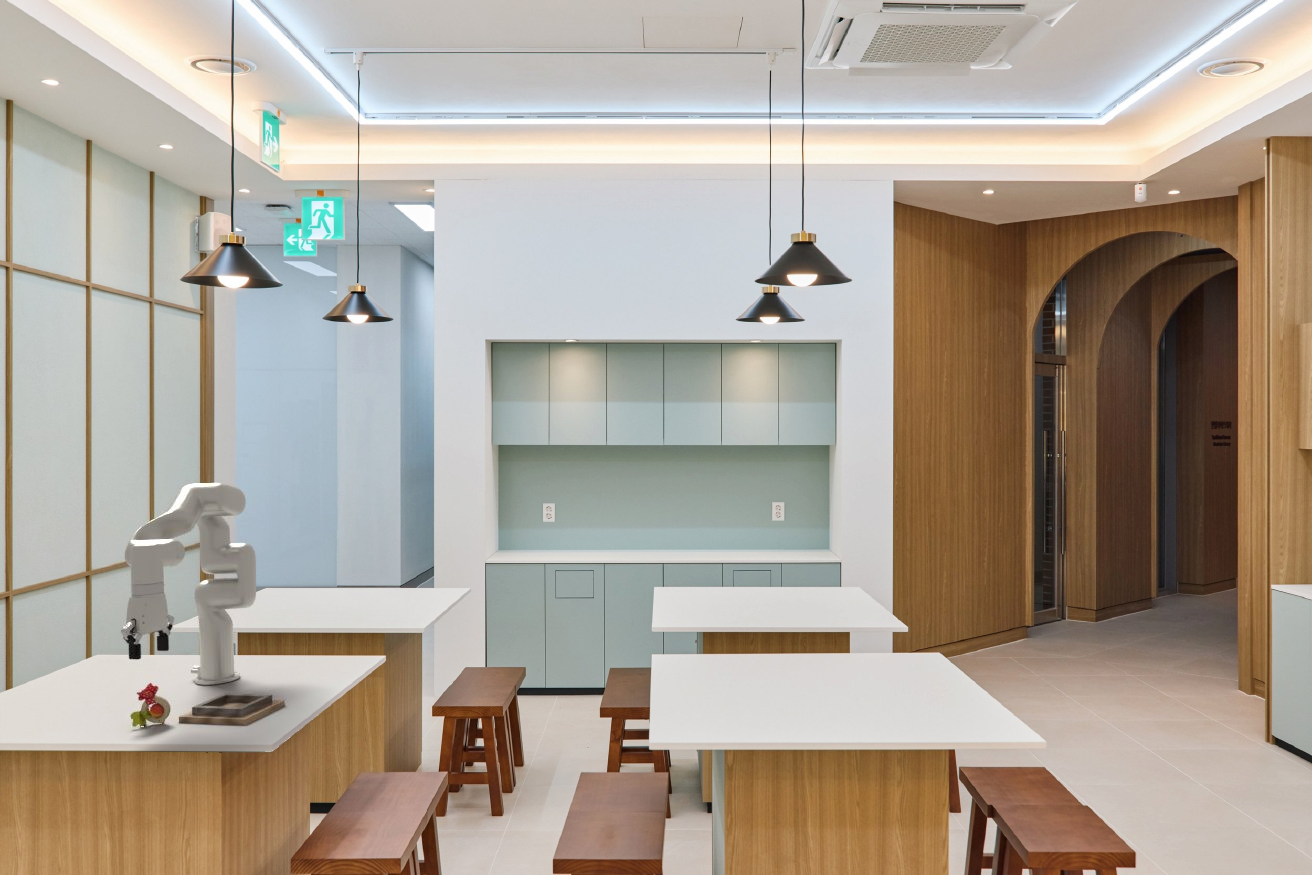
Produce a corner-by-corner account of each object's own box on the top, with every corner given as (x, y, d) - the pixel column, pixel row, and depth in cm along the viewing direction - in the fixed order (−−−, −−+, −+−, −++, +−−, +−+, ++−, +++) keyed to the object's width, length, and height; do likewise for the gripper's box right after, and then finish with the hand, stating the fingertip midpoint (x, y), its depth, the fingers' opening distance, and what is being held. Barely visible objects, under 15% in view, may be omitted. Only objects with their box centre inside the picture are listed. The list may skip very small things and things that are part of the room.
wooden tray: (178, 722, 240) (178, 709, 240) (222, 703, 256) (221, 690, 256) (245, 724, 235) (244, 711, 235) (284, 705, 252) (284, 692, 252)
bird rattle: (166, 727, 242) (132, 716, 241) (182, 688, 243) (149, 677, 241) (157, 735, 236) (122, 724, 234) (174, 695, 236) (139, 684, 235)
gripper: (159, 584, 247) (161, 647, 247) (109, 595, 231) (110, 662, 230) (183, 584, 246) (185, 647, 246) (134, 595, 229) (136, 662, 229)
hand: (149, 654), depth 238 cm, fingers open, 9 cm apart
